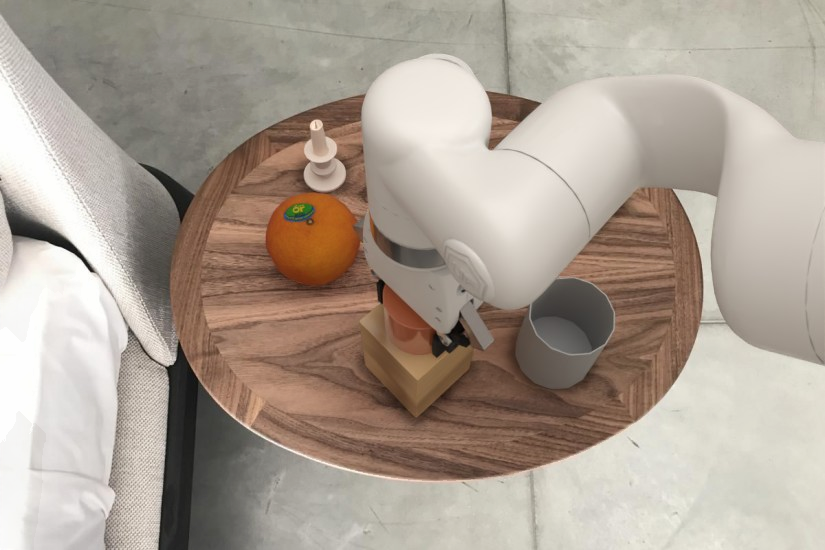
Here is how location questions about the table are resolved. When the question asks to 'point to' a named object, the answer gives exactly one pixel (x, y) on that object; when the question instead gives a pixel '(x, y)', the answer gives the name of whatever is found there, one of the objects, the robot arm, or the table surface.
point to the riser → (409, 365)
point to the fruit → (312, 238)
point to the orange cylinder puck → (406, 325)
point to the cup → (564, 333)
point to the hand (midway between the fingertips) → (419, 318)
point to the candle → (322, 161)
